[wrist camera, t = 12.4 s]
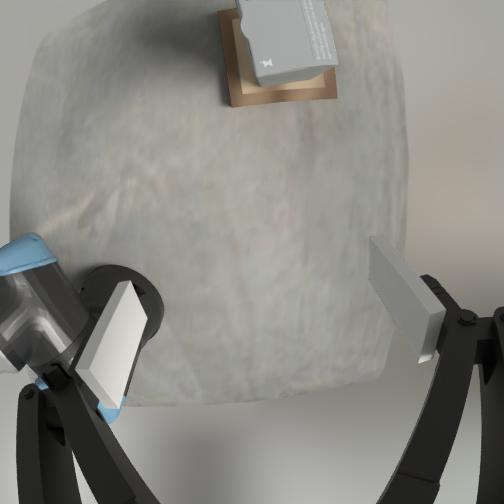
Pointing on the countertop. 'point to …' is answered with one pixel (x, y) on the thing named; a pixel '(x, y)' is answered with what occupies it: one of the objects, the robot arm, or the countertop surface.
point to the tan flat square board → (245, 82)
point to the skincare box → (286, 39)
